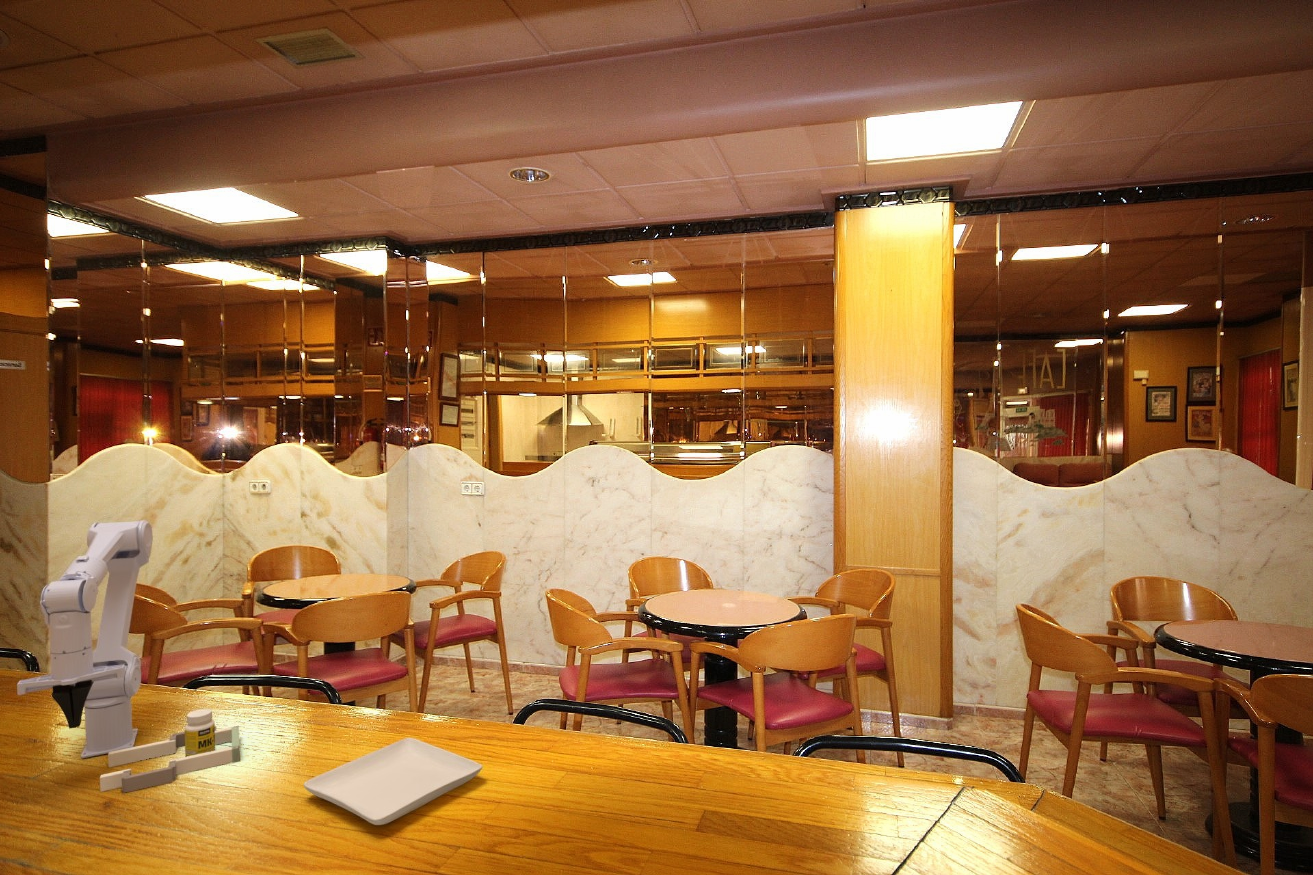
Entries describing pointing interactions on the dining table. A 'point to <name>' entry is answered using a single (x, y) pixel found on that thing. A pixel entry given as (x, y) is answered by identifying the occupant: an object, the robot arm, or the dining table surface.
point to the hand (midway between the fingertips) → (75, 725)
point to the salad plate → (393, 780)
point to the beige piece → (175, 765)
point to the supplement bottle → (199, 732)
